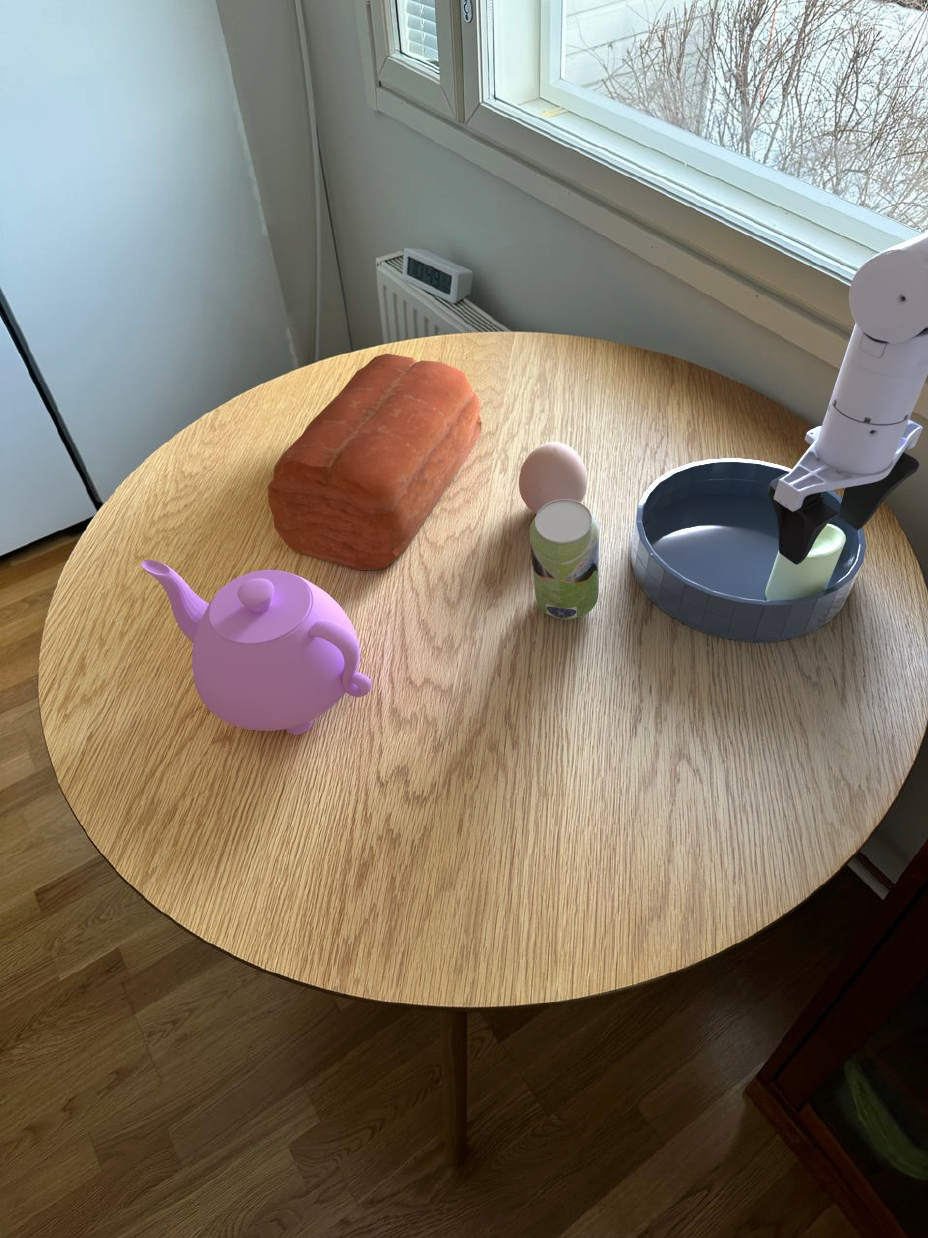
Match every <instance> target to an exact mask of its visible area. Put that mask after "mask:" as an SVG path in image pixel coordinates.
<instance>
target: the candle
mask: <svg viewBox="0 0 928 1238" xmlns="http://www.w3.org/2000/svg"><path fill="white" fill-rule="evenodd" d="M845 541H846V536H845V534H844V532H843V531H842V530H841V529H839V528H838V527H836V526H834V525H831V524H827V525H826V526H825V527H824V529H823V530H822V531H821V532H820V534H819V535H818V537H817V539H816V540H815V542H814V544H813V546H812V548H811V550H810V552H809V554H808V555H807V557H806V558H805V559H804V560H803V561H802V562H801V563H799V564H798V565H795V564H794V563H792V562H791V561H790V560H788V559H787V558H785V557H784V556H783V555H781V554H780V553H779V551H778V554H777V557H776V560H775V563H774V566H773V569H772V572H771V575H770V578H769V581H768V585H767V588H766V591H765V596H766V599H767V601H770V600H792V599H796V598H801V597H805V596H810V595H814V594H816V593H818V592H821V591H823V590H825V589H826V588H827V586H828V583H829V581H830V578H831V576H832V573H833V571H834V568H835V566H836V564H837V561H838V559H839V556H840V554H841V551H842V549H843V546H844V544H845Z"/></svg>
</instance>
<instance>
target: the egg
mask: <svg viewBox="0 0 928 1238" xmlns="http://www.w3.org/2000/svg"><path fill="white" fill-rule="evenodd" d="M587 473H588V472H587V469H586V466H585V464H584V461H583V460H582V458H581V456H580V455H579V454H578V452H576V451H575V449H574V448H572V447H571V446H569V445H567V444H565V443H563V442H559V441H549V442H545V443H543V444H540V445H538V446H537V447H535V448H534V449H533V450H532V451H531V452H530V453H529V454H528V455H527V457H526V459H525V460H524V461H523V463H522V466H521V468H520V471H519V477H518V489H519V490H518V491H519V494H520V497H521V499H522V501H523V502H524V504H525V505H526V507H527V508H528V509H529V510H531V511H532V513H534V514H536V515H537V513H538V511H539V510H540V509H541V508H542V507H543V506H544V505H546V504H548V503H550V502H552V501H555V500H561V499H569V500H574V501H578V502H580V503H582V502H583V500H584V498H585V496H586V494H587V488H588V474H587Z"/></svg>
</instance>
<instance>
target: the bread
mask: <svg viewBox="0 0 928 1238" xmlns="http://www.w3.org/2000/svg"><path fill="white" fill-rule="evenodd" d="M481 410H482V406H481V403H480V400H479V397H478V394H476V393H475V392H474V391H473V388H472V385H471V383H470V381H469V380H468V377H467V376H466V374H465V372H464V371H463V370H460V369H458V368H455V367H454V366H451V365H448V364H446V363H444V362H441V361H434V360H420V361H417V360H416V359H415V358H414V357H410V356H404V355H398V354H393V353H383V354H380V355H376V356H373V358H372V359H371V360H370V361H369V362H368V363H366V365H364V366H363V367H361V368H360V369H358V370H356V372H355V373H354V375H353V376H352V377H351V378H350V380H349V381H347V384H346V385H344V387H343V388H342V389H341V390H340V392H339V393H338V394H337V395H336V396H335V397H334V398H333V399H332V400H331V401H330V402H329V403H328V404H327V405H326V406H325V407H324V408H323V409H322V410H321V411H320V412H319V413H318V414H317V415H315V417H314V418H313V419H312V420H311V421H310V422H309V423H308V424H307V426H306V427H305V429H304V431H303V432H302V434H301V435H300V436H299V437H298V438H297V439H296V440H295V441H294V442H293V443H291V445H290V446H289V447H288V448H287V449H286V450H285V451H284V452H283V453H282V455H281V456H280V458H278V460H277V462H276V463H275V464H274V467H273V474H272V476H273V477H272V480H271V481H270V482H269V484H267V503H268V506H269V509H270V512H271V515H272V516H273V526H274V529H275V531H276V532H277V533H278V534H279V536H280V538H281V539H282V540H283V542H284V543H285V544H286V545H287V546H288V547H289V548H290V549H291V550H292V551H293V552H294V553H297V554H300V555H304V556H308V557H311V558H315V559H318V560H322V561H325V562H328V563H333V564H337V565H339V566H344V567H347V568H351V569H354V570H359V571H371V570H374V571H375V570H384V569H386V568H387V567H388V566H389V565H391V564H392V563H393V562H394V561H395V560H397V559H398V558H399V557H401V556H402V555H403V554H404V553H406V551H407V549H408V548H409V547H410V545H411V543H412V542H413V540H414V539H415V538H416V536H417V534H418V533H419V531H420V530H421V528H422V527H423V525H424V524H425V522H426V521H427V519H428V518H429V516H430V515H431V513H432V512H433V510H434V508H435V507H436V506H437V504H438V503H439V501H440V499H441V498H442V497H443V495H444V493H445V492H446V490H447V489H448V488H449V486H450V484H451V482H452V481H453V480H454V478H455V477H456V475H457V473H458V472H459V470H460V469H461V467H462V465H463V464H464V463H465V461H466V459H467V458H468V456H469V455H470V453H471V451H472V450H473V448H474V446H475V444H476V443H477V441H478V439H479V437H480V435H481V433H482V419H481V416H480V413H481Z"/></svg>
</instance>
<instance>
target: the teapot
mask: <svg viewBox="0 0 928 1238" xmlns="http://www.w3.org/2000/svg"><path fill="white" fill-rule="evenodd" d="M141 567H142V569H143V570H144V571H146V572H147V574H149V575H151V576H152V578H154V579H156V581H157V582H158V583H159V584H160V585H161V586H162V588H163V589H164V591H165V593H166V595H167V598H168V601H169V604H170V607H171V611H172V614H173V616H174V619H175V622H176V624H177V626H178V628H179V629H180V631H181V632H182V634H183V635H184V636H185V637H186V638H187V639H188V640H189V641H190V642H191V643H192V649H191V669H192V676H193V682H194V685H195V688H196V692H197V694H198V696H199V698H200V700H201V702H202V704H203V705H204V706H205V707H206V708H207V710H208V711H210V712H211V713H212V714H213V715H214V716H216V717H217V718H219V719H220V720H222V721H223V722H225V723H226V724H229V725H232V726H234V727H237V728H241V729H243V730H244V729H245V730H250V731H257V732H272V731H273V732H274V731H283V730H285V731H286V733H288V734H290V735H293V736H294V735H296V736H299V735H303V734H305V733H307V732H308V731H309V730H310V729H311V728H312V726H313V724H314V720H315V719H317V718H318V717H320V716H322V715H323V714H325V713H326V712H328V711H330V710H331V709H332V708H333V707H334V706H336V704H337V703H338V702H339V701H340V700H341V699H342V698H343V697H344V696H345V695H346V694H347V695H349V696H351V697H354V698H362V697H366V696H367V695H368V694H369V693H370V692H371V689H372V685H373V684H372V683H373V682H372V680H371V679H370V678H369V676H367V675H365V674H364V673H361V672H358V670H359V665H360V661H361V649H360V643H359V639H358V635H357V633H356V630H355V628H354V626H353V624H352V622H351V620H350V618H349V617H348V615H347V614H346V612H345V611H344V609H343V607H341V606H340V604H339V603H338V602H337V601H336V600H335V599H334V598H333V597H332V596H330V594H329V593H328V592H326V591H325V590H323V589H322V588H320V587H319V586H317V585H315V584H314V583H312V582H311V581H309V580H307V579H306V578H305V577H304V578H303V577H301V576H299V575H297V574H294V573H291V572H289V571H284V570H278V569H262V570H256V571H252V572H248V573H246V574H242V575H240V576H237V577H236V578H234V579H232V580H231V581H229V582H228V583H226V584H225V585H224V586H223V587H221V588H220V589H219V590H218V591H217V592H216V593H215V595H214V596H213V597H212V598H211V600H210V602H209V603H208V602H207V601H205V600H204V599H202V597H200V596H199V595H198V594H197V593H196V592H194V590H193V589H192V588H191V587H190V586H189V585H188V583H187V582H186V580H184V579H183V578H182V577H181V576H180V574H178V573H177V572H176V571H175V570H174V569H173V568H171V567H170V566H168V565H167V564H164V563H162V562H160V561H158V560H153V559H145V560H142V562H141Z"/></svg>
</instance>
